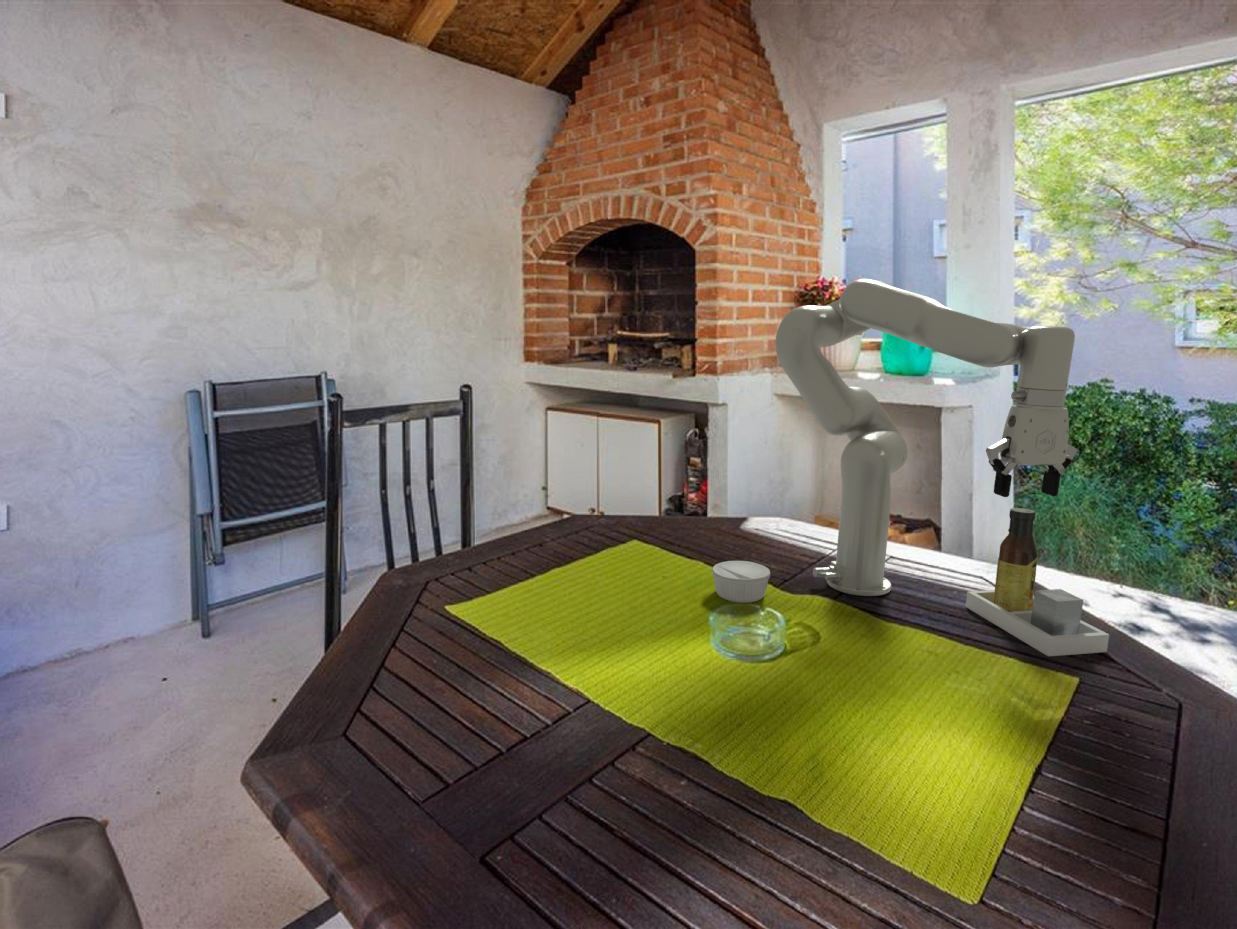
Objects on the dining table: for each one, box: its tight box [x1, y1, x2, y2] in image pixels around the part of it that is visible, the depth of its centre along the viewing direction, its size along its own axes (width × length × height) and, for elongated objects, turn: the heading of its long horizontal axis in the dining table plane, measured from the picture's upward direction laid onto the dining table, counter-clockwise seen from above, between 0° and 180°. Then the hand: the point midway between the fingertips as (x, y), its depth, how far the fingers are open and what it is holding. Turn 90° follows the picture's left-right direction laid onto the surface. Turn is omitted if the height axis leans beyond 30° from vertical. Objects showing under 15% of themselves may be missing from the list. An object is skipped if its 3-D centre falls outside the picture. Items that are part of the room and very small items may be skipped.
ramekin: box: [711, 560, 771, 604], centre depth 147 cm, size 11×11×5 cm
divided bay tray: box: [965, 589, 1110, 657], centre depth 131 cm, size 21×11×4 cm, turn 11°
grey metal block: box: [1030, 588, 1084, 636], centre depth 126 cm, size 5×5×8 cm
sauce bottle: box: [993, 507, 1039, 612], centre depth 134 cm, size 6×6×20 cm
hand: (1025, 494), depth 132 cm, fingers open, 9 cm apart
